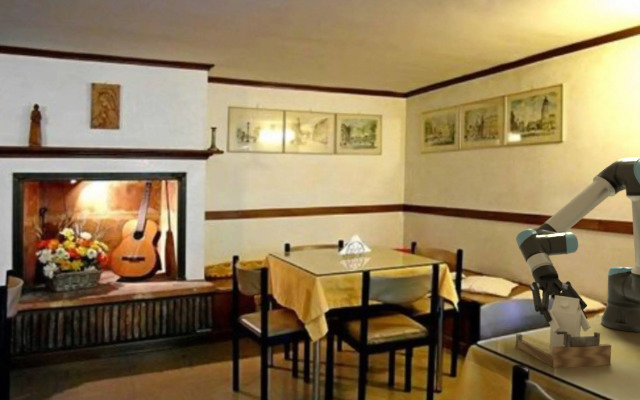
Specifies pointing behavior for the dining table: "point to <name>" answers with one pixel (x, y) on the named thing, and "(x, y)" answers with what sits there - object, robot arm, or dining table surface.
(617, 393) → the dining table surface
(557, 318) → the milk carton
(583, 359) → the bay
